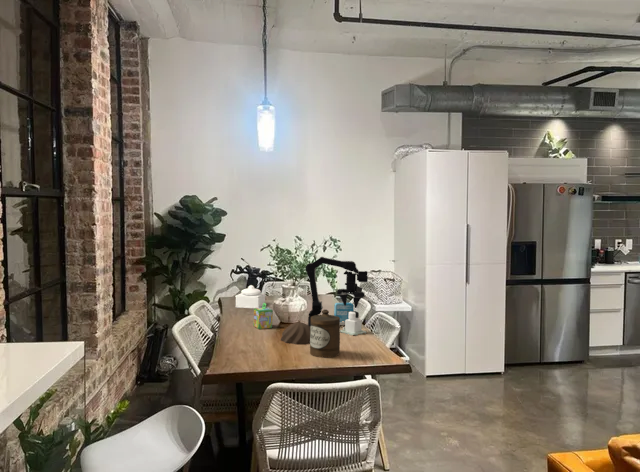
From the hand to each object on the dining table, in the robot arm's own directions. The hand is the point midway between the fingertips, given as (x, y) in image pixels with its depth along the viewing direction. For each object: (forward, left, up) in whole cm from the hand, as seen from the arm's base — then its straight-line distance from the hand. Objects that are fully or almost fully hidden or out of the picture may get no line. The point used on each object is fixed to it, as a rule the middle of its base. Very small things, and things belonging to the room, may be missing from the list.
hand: (350, 306), depth 303 cm
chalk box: (-43, +32, -13) cm, 55 cm away
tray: (-8, -11, -13) cm, 19 cm away
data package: (+10, +16, -13) cm, 23 cm away
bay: (-3, +2, -13) cm, 13 cm away
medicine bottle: (-8, -11, -13) cm, 18 cm away
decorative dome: (-44, -5, -14) cm, 47 cm away
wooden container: (-51, -34, -13) cm, 63 cm away
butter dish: (-10, +97, -13) cm, 99 cm away
